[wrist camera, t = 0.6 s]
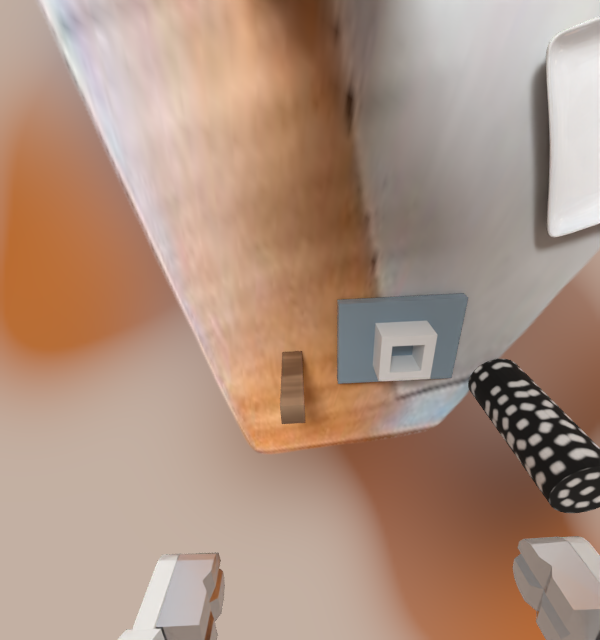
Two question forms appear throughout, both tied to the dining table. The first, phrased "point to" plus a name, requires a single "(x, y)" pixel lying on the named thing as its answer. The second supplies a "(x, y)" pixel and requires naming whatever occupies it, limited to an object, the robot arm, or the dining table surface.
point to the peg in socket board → (398, 337)
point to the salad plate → (574, 128)
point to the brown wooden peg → (292, 388)
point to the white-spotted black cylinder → (540, 436)
